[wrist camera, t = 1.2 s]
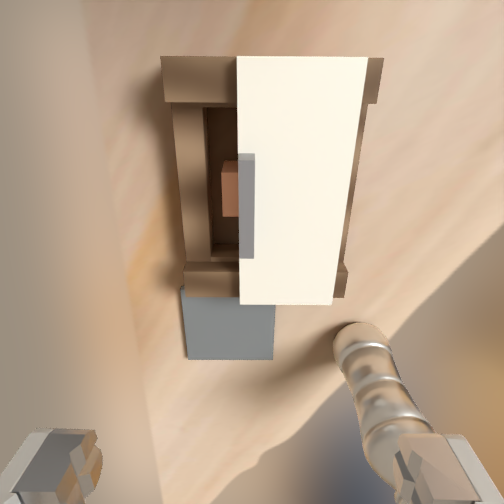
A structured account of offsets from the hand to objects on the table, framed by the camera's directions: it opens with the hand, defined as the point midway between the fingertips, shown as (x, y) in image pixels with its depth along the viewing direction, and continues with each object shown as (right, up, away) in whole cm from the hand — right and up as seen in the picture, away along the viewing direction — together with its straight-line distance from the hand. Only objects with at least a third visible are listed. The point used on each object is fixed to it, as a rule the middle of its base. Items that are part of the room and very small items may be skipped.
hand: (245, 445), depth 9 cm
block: (0, +12, +24) cm, 27 cm away
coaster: (-3, -4, +33) cm, 33 cm away
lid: (+4, +10, +20) cm, 22 cm away
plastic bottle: (+13, -5, +34) cm, 37 cm away
